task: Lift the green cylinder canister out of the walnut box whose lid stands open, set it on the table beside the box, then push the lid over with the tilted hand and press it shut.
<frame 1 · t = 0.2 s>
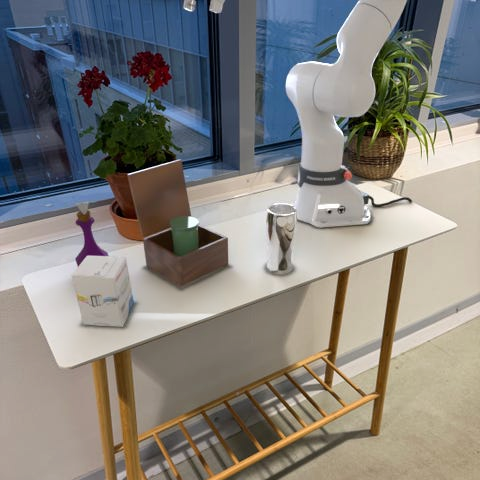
hand: (201, 11, 92), 52 cm above the table, tool tilted 20°, fingers open, 8 cm apart
box: (187, 267, 117), on the table
green cylinder canister: (187, 264, 116), point 1 cm above the table, touching box
lid: (161, 198, 112), point 15 cm above the table, hinge at 100.0°
ink box: (109, 315, 101), on the table
beer glass: (279, 269, 116), on the table
perfume bottle: (96, 275, 114), on the table
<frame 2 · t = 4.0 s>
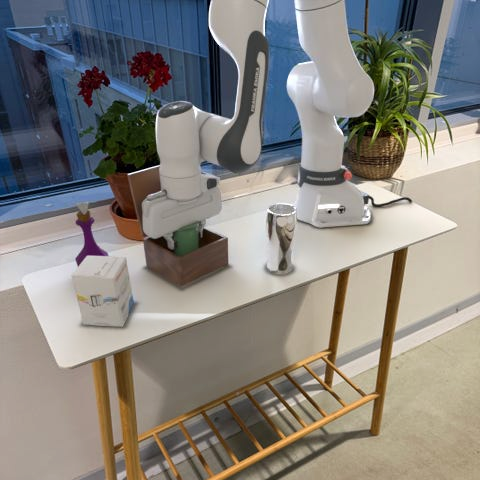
hand: (185, 242, 113), 7 cm above the table, tool pointing down, fingers closed on green cylinder canister, 6 cm apart
green cylinder canister: (187, 264, 116), point 1 cm above the table, touching box, gripper
everything else where it was.
when the fingers open (6 cm above the table, at t = 12.0 s): green cylinder canister moves 2 cm, on the table.
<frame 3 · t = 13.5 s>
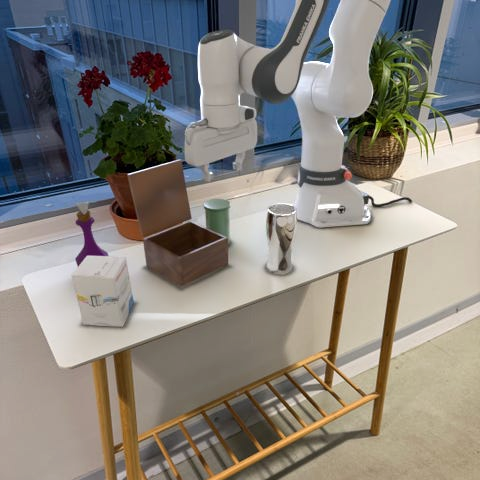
hand: (223, 175, 117), 18 cm above the table, tool pointing down, fingers open, 8 cm apart
green cylinder canister: (218, 243, 126), on the table
everything else where it was.
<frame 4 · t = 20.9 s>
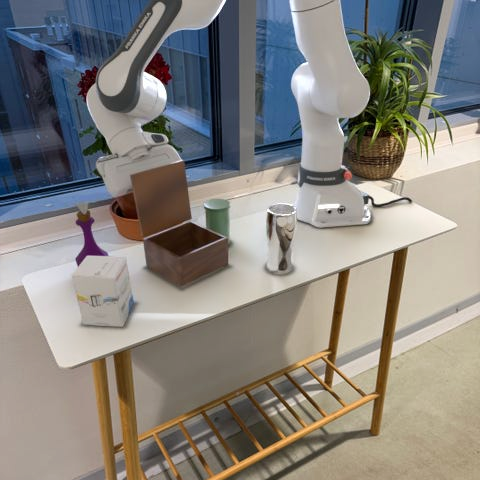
hand: (161, 201, 113), 14 cm above the table, tool tilted 45°, fingers closed, pressing on lid
lid: (162, 198, 112), point 15 cm above the table, hinge at 95.5°, touching gripper
everything else where it was.
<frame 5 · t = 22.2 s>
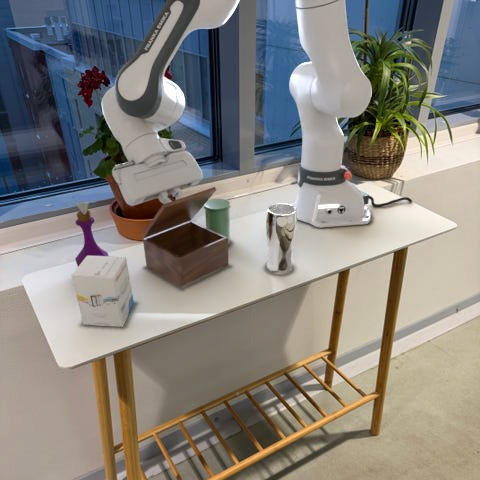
hand: (178, 209, 109), 14 cm above the table, tool tilted 45°, fingers closed, pressing on lid
lid: (178, 213, 110), point 13 cm above the table, hinge at 46.8°, touching gripper
everything else where it was.
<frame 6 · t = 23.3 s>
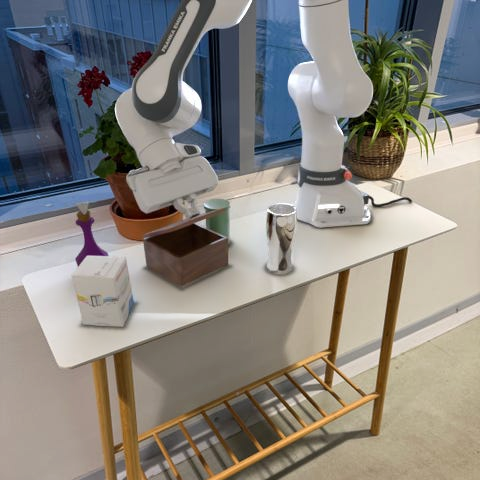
hand: (194, 216, 106), 14 cm above the table, tool tilted 45°, fingers closed
lid: (183, 223, 110), point 11 cm above the table, hinge at 26.3°
everything else where it was.
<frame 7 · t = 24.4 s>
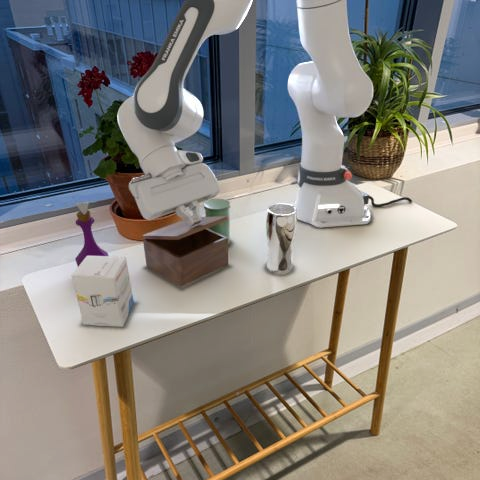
hand: (196, 224, 106), 13 cm above the table, tool tilted 45°, fingers closed
lid: (184, 227, 110), point 10 cm above the table, hinge at 18.3°, touching gripper
everything else where it was.
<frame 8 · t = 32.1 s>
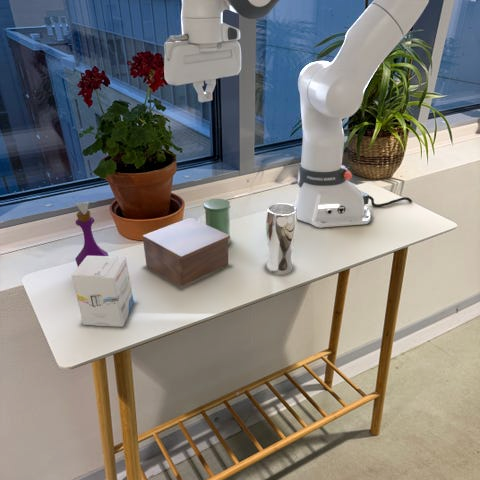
hand: (205, 101, 113), 33 cm above the table, tool pointing down, fingers closed
lid: (186, 237, 112), point 8 cm above the table, hinge at -0.2°, touching box
everything else where it was.
at the end: green cylinder canister inside the target area (2.1 cm from its centre), on the table; green cylinder canister tilted 0°; lid at +0° (first picture: +100°) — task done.
